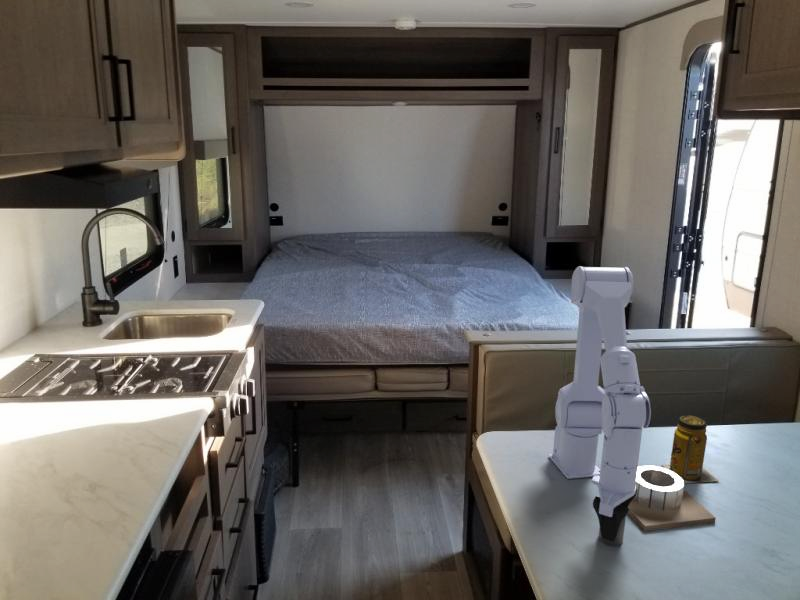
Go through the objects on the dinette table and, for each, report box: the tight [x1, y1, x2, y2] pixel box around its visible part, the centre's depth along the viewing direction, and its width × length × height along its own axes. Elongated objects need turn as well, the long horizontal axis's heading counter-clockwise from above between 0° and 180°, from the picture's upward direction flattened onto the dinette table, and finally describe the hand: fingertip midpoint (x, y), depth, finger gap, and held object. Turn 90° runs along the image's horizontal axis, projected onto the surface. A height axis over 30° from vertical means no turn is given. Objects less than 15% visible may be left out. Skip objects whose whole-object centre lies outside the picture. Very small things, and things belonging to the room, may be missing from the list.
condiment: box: [661, 415, 720, 484], centre depth 129 cm, size 7×8×12 cm
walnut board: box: [627, 489, 717, 532], centre depth 120 cm, size 16×14×1 cm
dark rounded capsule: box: [598, 504, 627, 547], centre depth 109 cm, size 4×4×6 cm
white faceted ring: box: [633, 465, 685, 511], centre depth 120 cm, size 9×9×4 cm
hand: (611, 531), depth 109 cm, fingers closed on dark rounded capsule, 4 cm apart
